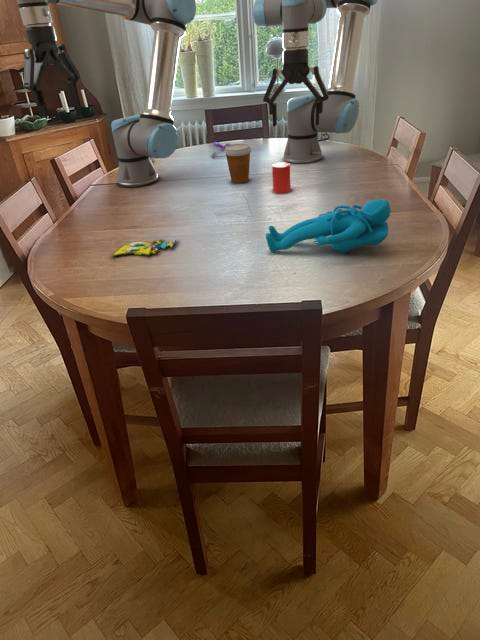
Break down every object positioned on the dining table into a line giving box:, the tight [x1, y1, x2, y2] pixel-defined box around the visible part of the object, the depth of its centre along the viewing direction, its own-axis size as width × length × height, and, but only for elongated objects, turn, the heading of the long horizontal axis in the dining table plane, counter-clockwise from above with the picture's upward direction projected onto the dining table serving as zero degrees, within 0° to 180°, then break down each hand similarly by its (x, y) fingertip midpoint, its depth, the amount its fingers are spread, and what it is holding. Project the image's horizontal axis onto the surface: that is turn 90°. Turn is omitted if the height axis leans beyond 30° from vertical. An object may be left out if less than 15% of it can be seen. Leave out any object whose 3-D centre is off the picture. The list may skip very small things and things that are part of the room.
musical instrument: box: [211, 141, 233, 158], centre depth 212 cm, size 24×2×20 cm
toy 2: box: [265, 198, 392, 254], centre depth 118 cm, size 17×11×30 cm
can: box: [271, 161, 292, 194], centre depth 159 cm, size 6×6×9 cm
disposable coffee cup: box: [223, 142, 252, 184], centre depth 171 cm, size 10×10×12 cm
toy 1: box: [112, 238, 177, 258], centre depth 129 cm, size 10×1×15 cm
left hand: (61, 111), depth 140 cm, fingers open, 13 cm apart
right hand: (295, 125), depth 153 cm, fingers open, 13 cm apart
